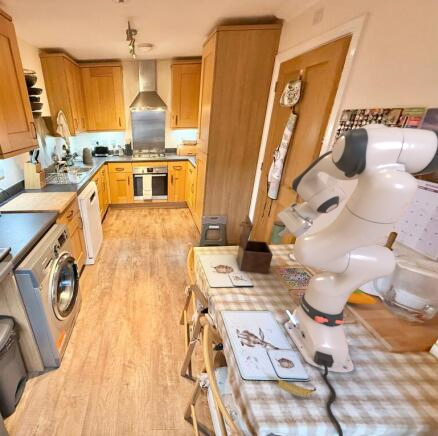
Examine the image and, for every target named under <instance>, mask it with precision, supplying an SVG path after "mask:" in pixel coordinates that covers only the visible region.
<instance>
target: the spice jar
mask: <svg viewBox="0 0 438 436" xmlns="http://www.w3.org/2000/svg"><path fill="white" fill-rule="evenodd" d="M285 229H286V226H285V224H284V223H283V222H282V221H280V220H275V221H273V225H272V229H271V234H270V238H269V242H270V243H272V244H275V245H281V244H282V242H283V238H284V235H282V236H279V235H278V232H279V231H283V230H285Z"/></svg>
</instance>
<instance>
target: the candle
mask: <svg viewBox="0 0 438 436" xmlns="http://www.w3.org/2000/svg"><path fill="white" fill-rule="evenodd" d="M311 228H312V226H311V227H310V229H309V230H307V231H306V232H305V233H303V234H302V235H301V236H299V237H296V240H295V243H296V242H297V241H298V240H299V239H300V238H301V237H304V236H308V235H310V231H311ZM289 258H290V259H291V260H293V261H296V259H295V257H294V254H293V253H290V254H289ZM296 262H297V261H296Z"/></svg>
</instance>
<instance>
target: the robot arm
mask: <svg viewBox="0 0 438 436" xmlns="http://www.w3.org/2000/svg"><path fill="white" fill-rule="evenodd" d="M437 171H438V129H435V128H427V129H423V128H422V129H421V128H411V127H398V126H391V127H390V126H388V125H385V124H383V123H369V124H365V125H362V126H361V127H357V128H352V129H348V130H346V131H344V132H342V133H341V134H340V135H339V136H338V137H337V139H336V141H335V143H334V144H333V147H332V149H331V150H329V151H326V152H325V153H323V154H321V155H320V156H319V157H317V158H316V159H315V160H314V161H312V162H311V164H309V166H307V168H306V169H305V170H304V171H302V172H301V174H298V175H297V176H296V177H295V178H294V179H293V180H292V182H291V189H292V190H293V192H295V194H297V195H298V196H299V197H301V198H302V200H304V201H303V202H302V203H297V202H293V203H292V202H291V204H290V205H289V206H287V207H286V208H284V209H282V210H281V211H280V212H278V214H277V215H276V216H277V218H278V219H279V221H282V222H283V223H284V224H285V230H283V231H279V232H278V235H279V236H282V235H283V236H285V235H288V234H291V235H292V236H293V237H294V238H297V237H299V236H301V235H302V234H303V233H305V232H306V231H307V230H309V229H310V230H311V228H312V227H313V223H314V222H313V221H315V220H316V219H318V218H319V217H321V215H323V214H328V213H330V212H332V211H334V210H335V209H336V208H338V207H339V205H340V204H341V203H342V202H343V201H345V199H347V198H346V197H347V195H346V193H345V191H344V190H343V188H341V187H340V186H338V185H334V184H333V185H330V186H329V185H328V184H327V183H326V182H325V181H324V180H322V178H321V177H319V174H320V173H321V172H322V173H324V174H327V175H329V176H330V177H332V178H333V179H336V180H340V181H356V180H357V184H356V186H355V188H354V189H353V191H352V193H351V194H350V196H349V198H348V199H347V201H346V202H345V205H344V206H343V208H342V209H341V211H340V212H339V214H338V215H337V217H336V218H335V219H334V220H333V222H332V223H330V224H329V225H328V226H326V227H324V228H323V229H321V230H319V231H316V232H315V233H312V234H309V235H308V236H304V237H301V238H300V239H299V240H298V241H297V240H296V241H297V242H296V241H295V243H294V245H293V248H292V249H293V250H292V254H294V257H295V259H296V263H298V264H299V265H301V266H302V267H306V268H308V269H312V270H316V271H323V272H320V273H317V274H313V276H312V277H311V278H310V279H309V281H308V284H307V287H306V289H305V292H304V293H303V294H302V296H301V298H300V302H299V305H298V307H296V308H295V309H294V310H293V312H292V313H290V311H289V310H286V313H287V314H288V316H289V317H290V318H289V321H286V322H285V323H284V325H283V327H284V329H285V331H286V332H287V334H288V335H289V338H290V339H291V340H292V342H293V343H294V345H295V347H296V348H297V350H298V351H299V352H300V355H301V356H302V358H303V359H304V361H305V362H306V363H308V364H309V365H311V366H313V367H314V368H315V367H316V368H318V369H321V370H324V373H323V379H324V382H325V384H326V385H327V387H328V388H329V389H330V390H331V393H332V396H331V398H330V399H329V400H328V401H327V404H326V409H327V412H328V415H329V416H330V418H331V419H332V421H333V422H334V424H335V426H336V428H337V431H338V436H344V433H343V429H342V426H341V424H340V422H339V421H338V419H337V418H336V417H335V415H334V413H333V412H332V409H331V408H332V407H331V406H332V404H333V403H334V402H335V400H336V398H337V393H336V391H335V388H334V387H333V386H332V385H331V383H330V381H329V379H328V374H329V372H334V373H342V374H343V373H344V374H345V373H351V372H352V371H354V369H355V366H354V363H353V361H352V358H351V356H350V352H349V351H350V349H349V345H351V344H352V340H351V338H350V336H346V333H345V329H346V326H345V325H344V323H346V322H345V321H344V317H345V313H344V311H345V310H344V308H345V306H346V305H347V304H346V303H348V302H347V300H348V298H349V297H350V295H351V294H352V293H353V292H354V291H355V290H356V289H357V290H359V288H361V287H362V286H364V285H366V284H368V283H370V282H372V281H375V280H379V279H383V278H387V277H388V276H390V275H391V274H392V273H394V271H395V269H396V266H397V259H396V256H395V254H394V253H393V251H392V250H391V249H390V248H389V247H387V246H385V245H384V246H383V245H380V244H378V243H381V242H382V241H383V240H384V239H385V238H386V237H387V236H388V234H389V233H390V232H391V231H392V230H393V229H394V227H395V226H396V225H397V224H398V222H399V221H400V220H401V218H402V217H403V216H404V214H405V213H406V212H407V210H408V209H409V207H410V205H411V204H412V202H413V200H414V198H415V196H416V193H417V191H418V188H419V183H418V180H417V179H416V178H415V176H414V175H426V174H431V173H435V172H437ZM310 227H311V228H310Z"/></svg>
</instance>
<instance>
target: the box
mask: <svg viewBox="0 0 438 436" xmlns="http://www.w3.org/2000/svg"><path fill="white" fill-rule="evenodd" d="M236 259H237V263H238V268H239V271H240V272H249V273H257V274H267V275H269V272H270V268H271V263H272V260H273V252H272V250H271V248H270V246H269V244H268V243H267V241H262V240H261V241H260V240H252V239H251V240H249V239H248V242H247V245H246V248H245V251H243V249H242V246H241V242H240V241H239V243H238V249H237V255H236Z"/></svg>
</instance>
